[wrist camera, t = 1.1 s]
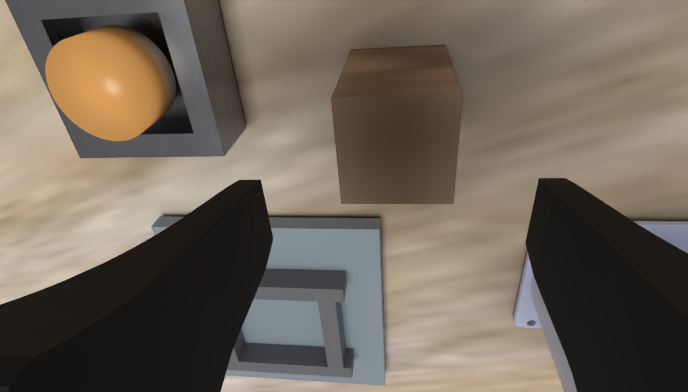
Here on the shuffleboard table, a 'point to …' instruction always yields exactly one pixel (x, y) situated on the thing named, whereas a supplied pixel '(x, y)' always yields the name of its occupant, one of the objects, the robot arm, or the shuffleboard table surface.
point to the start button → (110, 81)
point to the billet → (397, 126)
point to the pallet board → (315, 304)
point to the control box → (179, 49)
